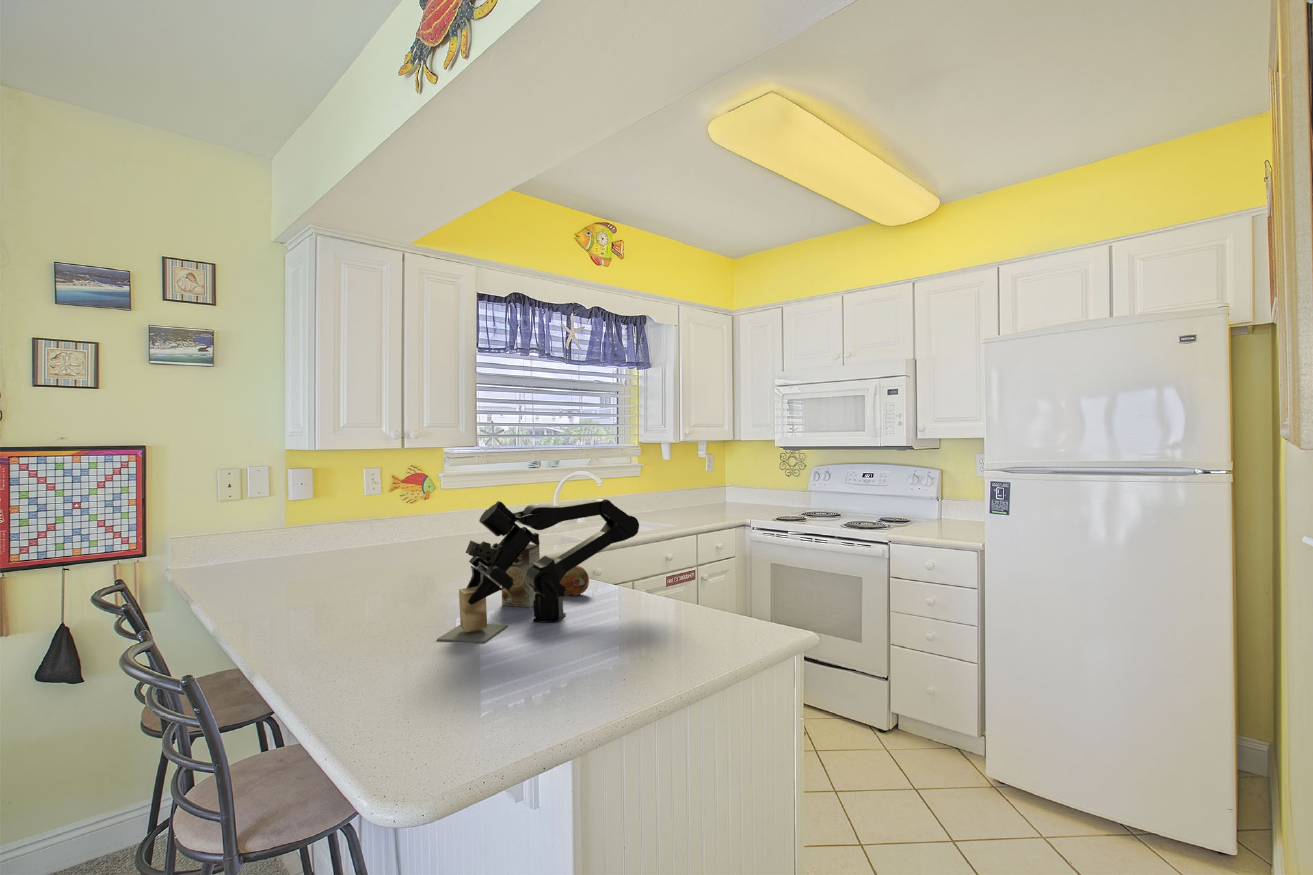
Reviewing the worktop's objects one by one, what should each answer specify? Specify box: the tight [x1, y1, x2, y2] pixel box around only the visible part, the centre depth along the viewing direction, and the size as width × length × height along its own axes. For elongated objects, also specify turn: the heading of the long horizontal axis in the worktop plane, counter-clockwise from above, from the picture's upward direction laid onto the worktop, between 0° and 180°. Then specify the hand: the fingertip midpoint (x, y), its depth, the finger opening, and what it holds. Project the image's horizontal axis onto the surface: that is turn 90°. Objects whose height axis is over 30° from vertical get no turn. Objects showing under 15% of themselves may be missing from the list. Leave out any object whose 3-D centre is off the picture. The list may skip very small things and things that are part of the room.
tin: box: [559, 565, 590, 597], centre depth 184 cm, size 15×3×8 cm, turn 68°
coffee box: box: [501, 543, 541, 608], centre depth 176 cm, size 9×6×16 cm
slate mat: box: [436, 623, 509, 644], centre depth 152 cm, size 12×12×1 cm
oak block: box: [458, 586, 488, 632], centre depth 151 cm, size 5×5×9 cm
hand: (466, 600), depth 151 cm, fingers closed on oak block, 5 cm apart
